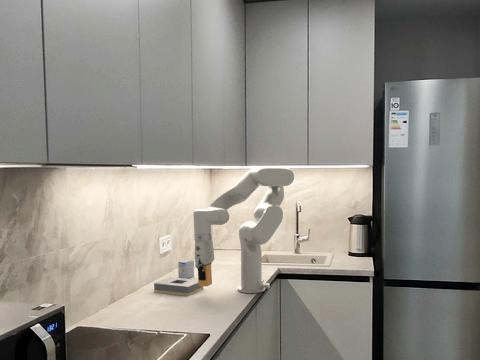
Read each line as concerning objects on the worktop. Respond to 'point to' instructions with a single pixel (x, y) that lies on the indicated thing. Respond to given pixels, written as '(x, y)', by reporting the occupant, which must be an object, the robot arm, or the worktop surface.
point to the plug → (208, 276)
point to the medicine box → (186, 269)
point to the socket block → (177, 286)
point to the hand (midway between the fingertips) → (205, 278)
